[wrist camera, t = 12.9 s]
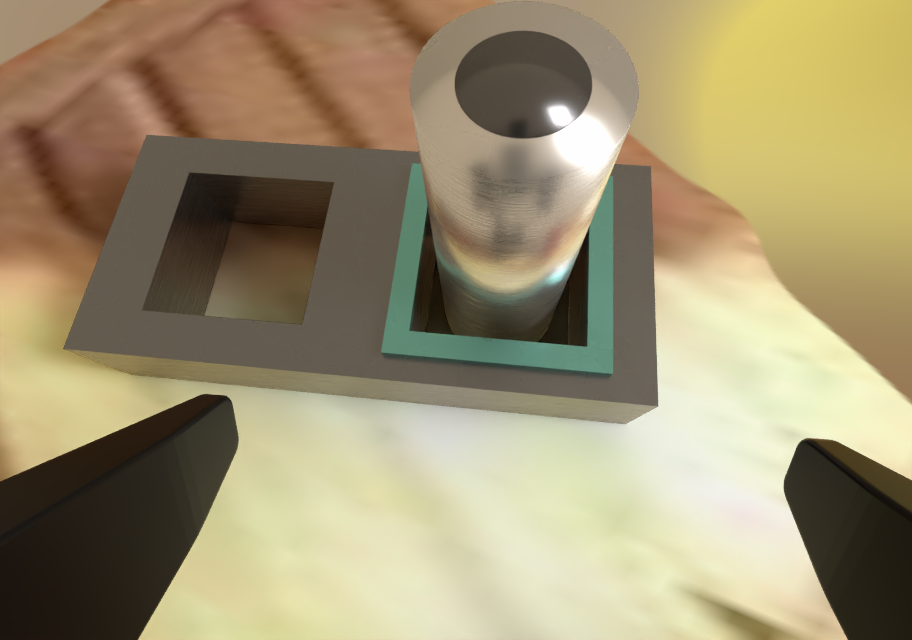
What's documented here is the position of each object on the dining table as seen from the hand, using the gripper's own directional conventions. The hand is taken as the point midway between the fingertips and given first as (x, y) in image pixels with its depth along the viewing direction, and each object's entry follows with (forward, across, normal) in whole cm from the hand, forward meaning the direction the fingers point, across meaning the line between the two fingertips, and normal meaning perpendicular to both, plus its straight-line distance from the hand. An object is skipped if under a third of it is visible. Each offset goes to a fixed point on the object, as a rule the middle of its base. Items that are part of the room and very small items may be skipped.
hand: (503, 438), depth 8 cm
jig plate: (+15, +5, +4) cm, 16 cm away
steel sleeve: (+15, 0, +4) cm, 15 cm away
